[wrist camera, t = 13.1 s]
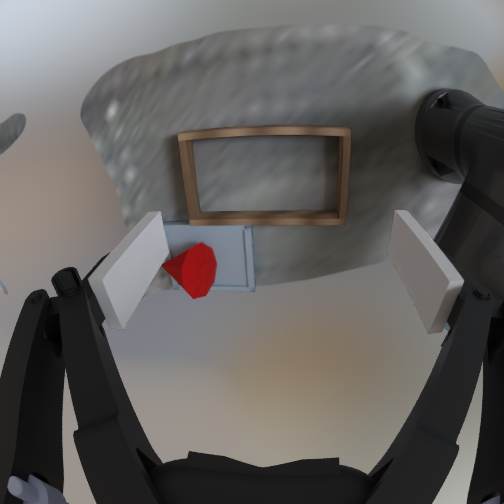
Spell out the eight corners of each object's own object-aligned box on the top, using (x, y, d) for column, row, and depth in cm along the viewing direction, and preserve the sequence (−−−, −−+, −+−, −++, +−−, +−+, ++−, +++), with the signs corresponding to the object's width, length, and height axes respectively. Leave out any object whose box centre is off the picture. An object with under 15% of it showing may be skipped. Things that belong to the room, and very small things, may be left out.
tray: (251, 219, 44) (250, 223, 43) (255, 286, 51) (254, 291, 50) (162, 221, 46) (158, 225, 45) (176, 284, 53) (173, 289, 51)
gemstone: (167, 297, 50) (210, 308, 46) (135, 277, 43) (179, 287, 39) (184, 254, 54) (227, 259, 49) (156, 230, 47) (201, 232, 42)
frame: (346, 126, 36) (351, 129, 33) (341, 217, 43) (345, 225, 40) (184, 131, 38) (177, 134, 35) (195, 217, 45) (190, 226, 43)
